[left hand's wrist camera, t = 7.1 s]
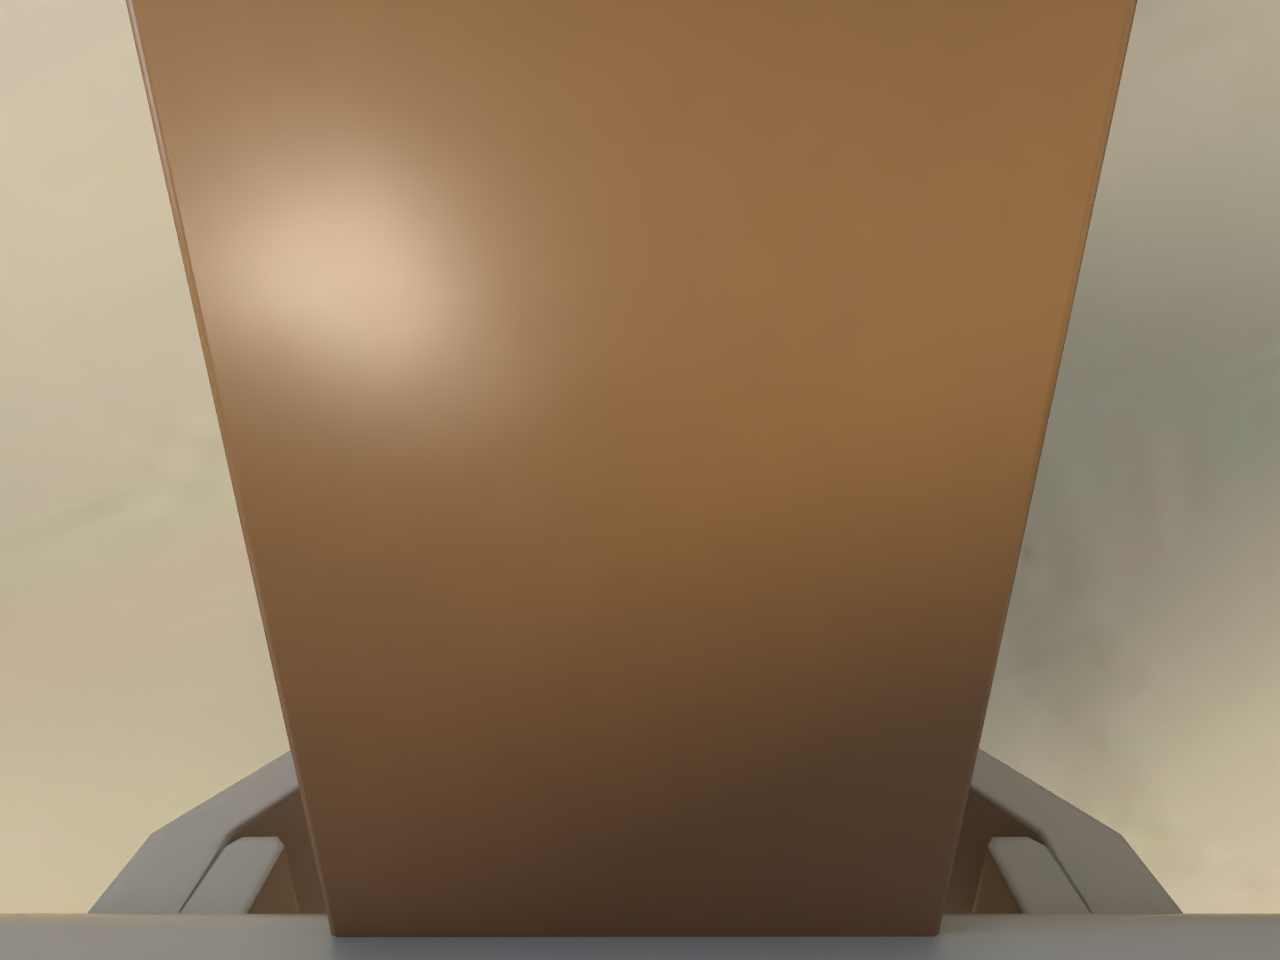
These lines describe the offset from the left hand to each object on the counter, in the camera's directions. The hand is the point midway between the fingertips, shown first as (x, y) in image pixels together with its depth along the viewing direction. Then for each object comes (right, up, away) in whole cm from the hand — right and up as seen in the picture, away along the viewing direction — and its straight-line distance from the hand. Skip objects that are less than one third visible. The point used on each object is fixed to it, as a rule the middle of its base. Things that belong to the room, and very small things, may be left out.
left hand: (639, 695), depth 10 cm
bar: (0, +11, -1) cm, 11 cm away
